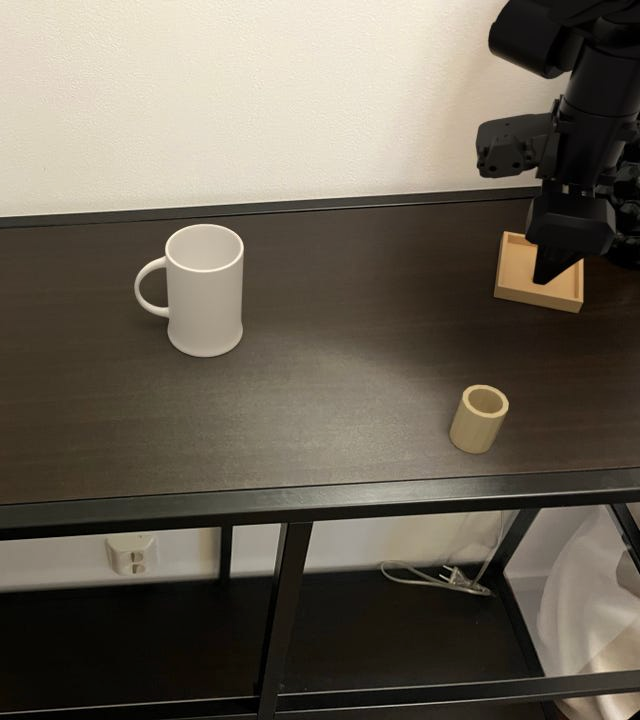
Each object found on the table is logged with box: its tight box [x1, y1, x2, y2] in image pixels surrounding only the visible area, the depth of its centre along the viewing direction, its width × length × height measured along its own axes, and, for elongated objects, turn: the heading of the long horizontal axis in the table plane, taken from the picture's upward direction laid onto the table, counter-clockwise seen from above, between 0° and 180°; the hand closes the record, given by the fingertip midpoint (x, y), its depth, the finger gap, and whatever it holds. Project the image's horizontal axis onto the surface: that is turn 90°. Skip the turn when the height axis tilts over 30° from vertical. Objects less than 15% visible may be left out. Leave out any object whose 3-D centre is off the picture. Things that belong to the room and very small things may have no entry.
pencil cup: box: [448, 384, 510, 455], centre depth 71 cm, size 4×4×6 cm
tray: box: [493, 231, 584, 314], centre depth 88 cm, size 11×9×2 cm
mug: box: [134, 223, 245, 358], centre depth 81 cm, size 12×8×12 cm
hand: (540, 253), depth 71 cm, fingers open, 9 cm apart
